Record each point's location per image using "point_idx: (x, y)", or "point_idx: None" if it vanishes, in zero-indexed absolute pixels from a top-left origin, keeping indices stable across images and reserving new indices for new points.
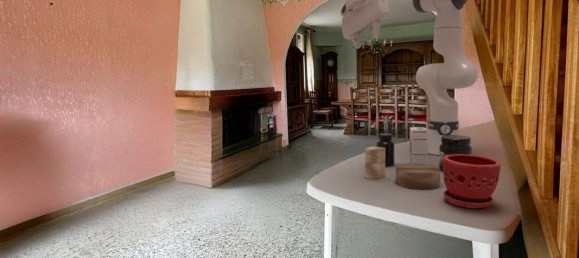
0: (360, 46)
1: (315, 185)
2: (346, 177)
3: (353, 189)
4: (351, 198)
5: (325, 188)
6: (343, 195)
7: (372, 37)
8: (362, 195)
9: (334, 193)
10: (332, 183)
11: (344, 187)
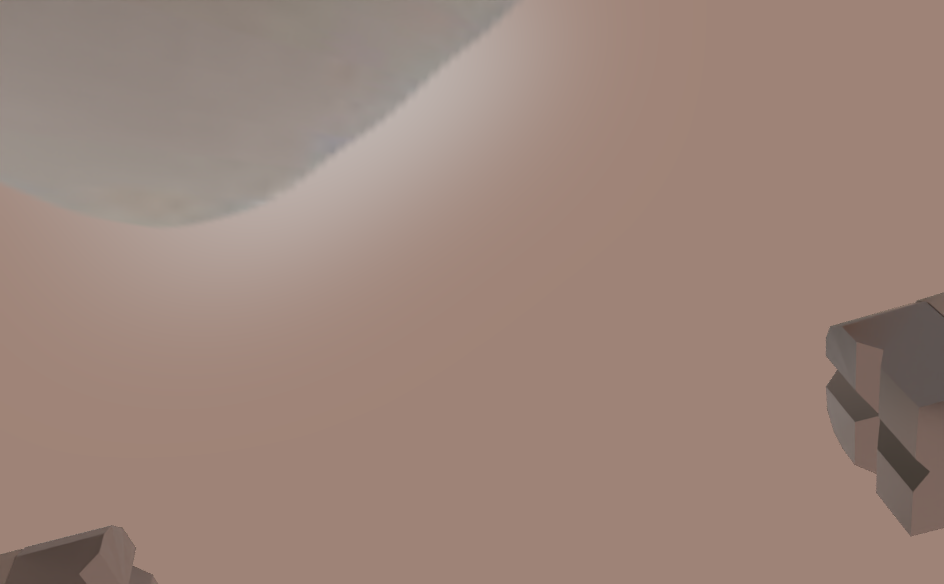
0: (115, 543)
1: (197, 217)
2: (44, 17)
3: (295, 38)
4: (417, 81)
5: (255, 174)
6: (372, 107)
7: (844, 416)
8: (391, 19)
9: (337, 143)
10: (171, 127)
11: (254, 77)
